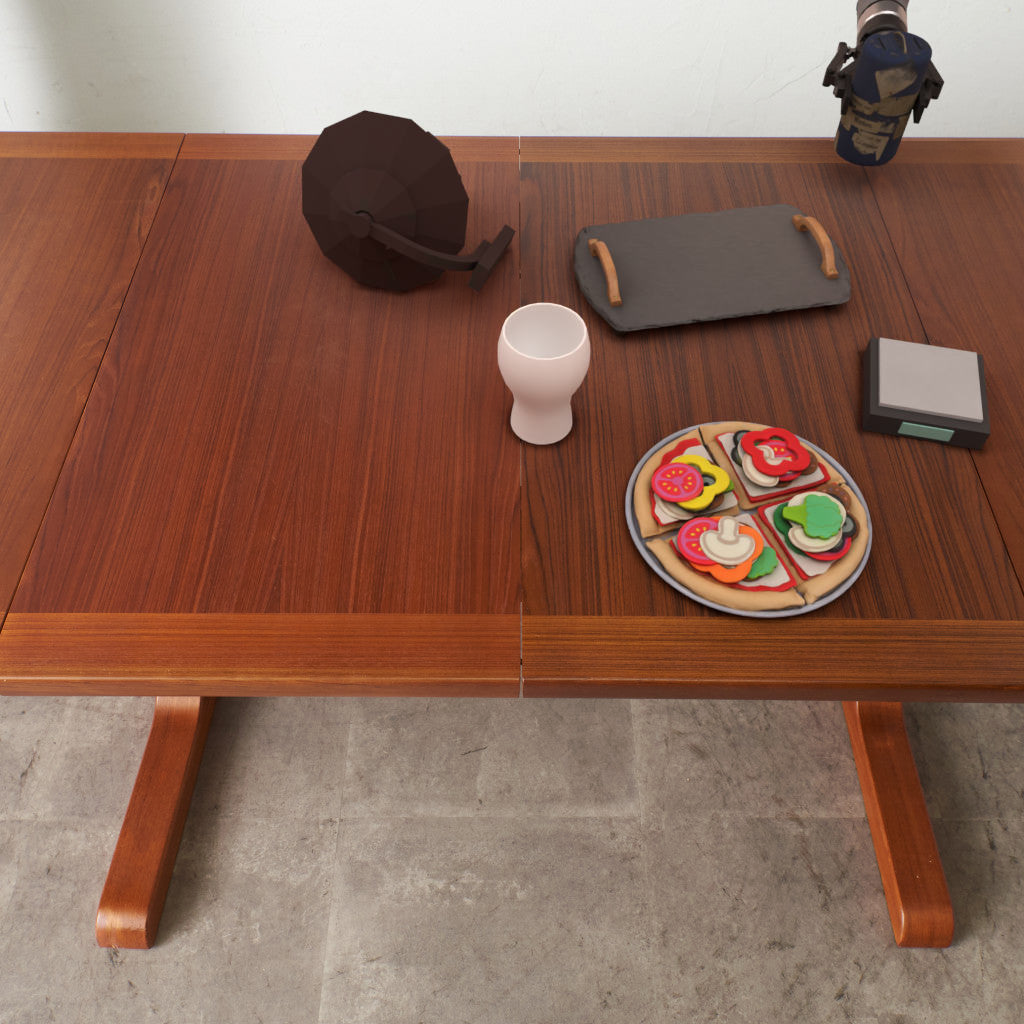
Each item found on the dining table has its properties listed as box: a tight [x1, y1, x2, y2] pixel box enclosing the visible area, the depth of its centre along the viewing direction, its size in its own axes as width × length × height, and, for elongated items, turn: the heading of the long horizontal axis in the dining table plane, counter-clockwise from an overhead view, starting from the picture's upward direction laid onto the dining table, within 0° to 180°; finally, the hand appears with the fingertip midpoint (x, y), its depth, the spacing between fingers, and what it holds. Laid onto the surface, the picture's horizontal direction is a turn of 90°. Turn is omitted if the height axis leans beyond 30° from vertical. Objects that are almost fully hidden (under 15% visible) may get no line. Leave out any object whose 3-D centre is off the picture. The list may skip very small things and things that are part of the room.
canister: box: [833, 31, 933, 167], centre depth 132 cm, size 10×10×18 cm
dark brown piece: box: [301, 109, 517, 294], centre depth 126 cm, size 24×29×30 cm
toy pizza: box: [624, 420, 873, 619], centre depth 102 cm, size 28×28×4 cm
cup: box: [497, 302, 591, 445], centre depth 106 cm, size 11×11×15 cm
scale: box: [862, 337, 991, 451], centre depth 113 cm, size 14×14×4 cm
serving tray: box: [572, 203, 852, 338], centre depth 127 cm, size 39×23×6 cm, turn 101°
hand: (882, 110), depth 129 cm, fingers closed on canister, 9 cm apart
